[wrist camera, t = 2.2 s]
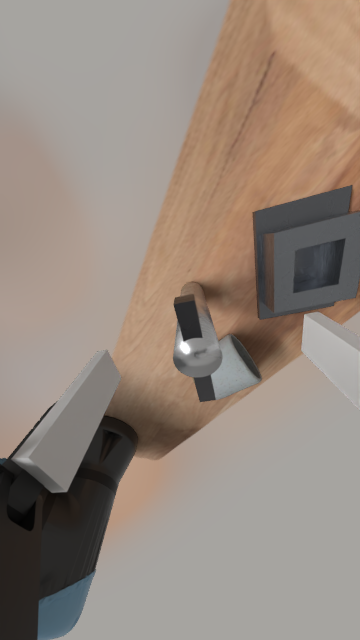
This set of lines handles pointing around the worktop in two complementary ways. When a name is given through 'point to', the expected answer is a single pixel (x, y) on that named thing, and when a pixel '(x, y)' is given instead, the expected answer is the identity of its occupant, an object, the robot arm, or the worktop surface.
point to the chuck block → (306, 254)
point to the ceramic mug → (234, 369)
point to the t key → (196, 340)
